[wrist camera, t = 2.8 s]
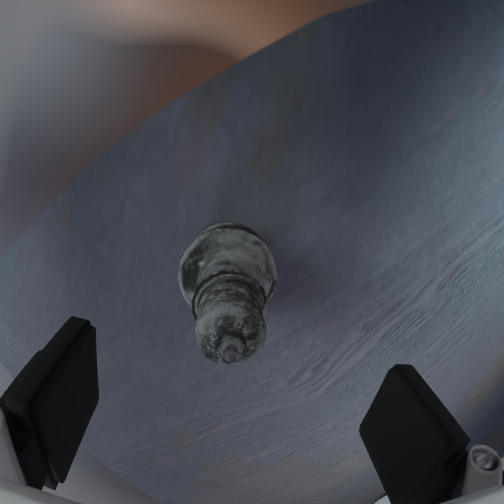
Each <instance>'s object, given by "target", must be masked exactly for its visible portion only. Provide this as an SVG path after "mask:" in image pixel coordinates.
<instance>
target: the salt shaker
mask: <svg viewBox="0 0 504 504" xmlns="http://www.w3.org/2000/svg"><path fill="white" fill-rule="evenodd" d="M178 278H179V286H180V289H181V291H182V294H183V296H184V298H185V300H186V301H187V302H188V304H189V305H190V306H191V307H192V313H193V315H194V318H195V320H196V321H197V322H196V328H195V337H196V342H197V345H198V347H199V349H200V351H201V352H202V353H203V355H204V356H205V357H207V358H208V359H210V360H211V361H213V362H216V363H218V364H223V365H238V364H241V363H245V362H247V361H249V360H251V359H252V358H254V357H255V356H256V355H257V354H258V353H259V352H260V350H261V349H262V347H263V345H264V342H265V338H266V325H265V321H264V316H265V313H266V309H267V304H268V303H269V302H270V300H271V298H272V296H273V295H274V293H275V290H276V286H277V282H278V267H277V264H276V261H275V258H274V255H273V254H272V252H271V251H270V249H269V248H268V246H267V245H266V244H265V243H264V242H263V241H262V240H261V239H259V237H258V236H257V235H256V234H255V233H254V232H253V231H252V230H251V229H249V228H247V227H245V226H243V225H241V224H237V223H232V222H225V223H218V224H215V225H212V226H210V227H208V228H207V229H205V230H204V231H202V232H201V233H200V234H199V235H198V237H197V238H196V239H195V240H194V241H193V242H192V243H191V245H190V246H189V247H188V248H187V249H186V251H185V253H184V255H183V257H182V259H181V261H180V266H179V272H178Z"/></svg>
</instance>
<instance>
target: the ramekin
mask: <svg viewBox="0 0 504 504" xmlns="http://www.w3.org/2000/svg"><path fill="white" fill-rule="evenodd" d="M374 504H391V503H390V501H389V499H388V496H387V495H386V496H384V497H382V498H381V499H379V500H378V501H376V502H375V503H374Z"/></svg>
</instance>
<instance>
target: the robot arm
mask: <svg viewBox="0 0 504 504" xmlns="http://www.w3.org/2000/svg"><path fill="white" fill-rule="evenodd" d="M98 399H99V389H98V374H97V354H96V329H95V327H94V326H91V323H90V321H89V320H86V319H82V318H78V317H74V316H71V317H70V318H69V319H68V320H67V322H66V323H65V324H64V325H63V326H62V327H61V328H60V330H59V331H58V332H57V333H56V334H55V335H54V337H53V338H52V339H51V340H50V341H49V342H48V344H47V345H46V346H45V347H44V348H43V350H41V351H38V352H37V353H36V354H35V355H34V356H33V357H32V359H31V360H30V361H29V362H28V364H27V365H26V366H25V367H24V368H23V370H22V371H21V372H20V373H19V375H18V376H17V377H16V378H15V380H14V381H13V382H12V383H11V385H10V386H9V387H8V389H7V390H6V391H5V393H4V394H3V395H2V397H1V398H0V504H81V503H77V502H74V501H71V500H68V499H65V498H62V497H59V496H56V495H53V494H50V493H47V492H44V491H42V488H43V486H46V487H48V488H50V489H53V490H56V487H57V485H58V482H60V483H64V481H65V479H66V477H67V474H68V472H69V469H70V467H71V464H72V462H73V459H74V457H75V454H76V452H77V450H78V447H79V445H80V442H81V440H82V438H83V435H84V433H85V431H86V428H87V426H88V424H89V422H90V419H91V417H92V415H93V412H94V410H95V408H96V406H97V403H98ZM359 432H360V436H361V438H362V440H363V442H364V445H365V447H366V449H367V451H368V453H369V456H370V458H371V460H372V462H373V465H374V467H375V469H376V471H377V474H378V476H379V478H380V480H381V483H382V485H383V487H384V489H385V492H386V494H387V496H388V499H389V501H390V503H391V504H504V471H503V470H502V461H501V458H500V456H499V455H498V453H497V452H496V451H495V450H493V449H492V448H490V447H488V446H486V445H482V444H476V445H473V446H472V447H471V448H470V449H469V450H468V451H467V450H466V449H465V448H466V446H467V445H468V444H469V442H470V441H471V440H470V439H469V437H468V436H467V435H466V433H465V432H464V431H463V429H462V428H461V427H460V425H459V424H458V423H457V421H456V420H455V419H454V417H453V416H452V415H451V414H450V412H449V411H448V410H447V408H446V407H445V406H444V405H443V403H442V402H441V401H440V400H439V398H438V397H437V396H436V394H435V393H434V392H433V391H432V389H431V388H430V387H429V386H428V384H427V383H426V382H425V381H424V379H423V378H422V377H421V376H420V374H419V373H418V372H417V371H416V370H415V368H414V367H413V366H412V365H406V364H396V365H394V366H393V368H391V369H390V370H389V371H388V372H387V374H386V377H385V379H384V381H383V383H382V385H381V387H380V389H379V391H378V393H377V395H376V397H375V399H374V400H373V402H372V404H371V406H370V408H369V410H368V412H367V414H366V415H365V417H364V419H363V421H362V423H361V425H360V428H359Z"/></svg>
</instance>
